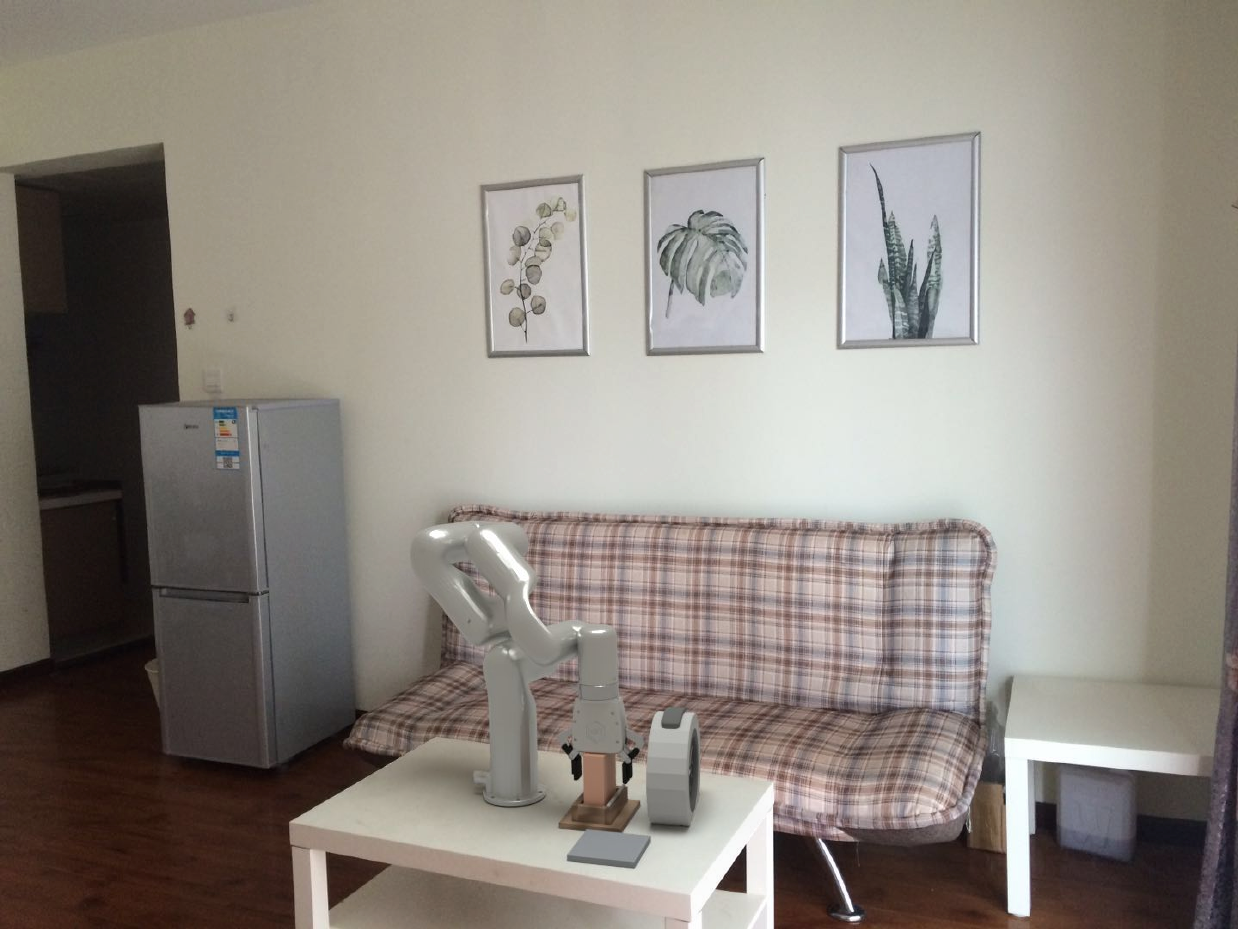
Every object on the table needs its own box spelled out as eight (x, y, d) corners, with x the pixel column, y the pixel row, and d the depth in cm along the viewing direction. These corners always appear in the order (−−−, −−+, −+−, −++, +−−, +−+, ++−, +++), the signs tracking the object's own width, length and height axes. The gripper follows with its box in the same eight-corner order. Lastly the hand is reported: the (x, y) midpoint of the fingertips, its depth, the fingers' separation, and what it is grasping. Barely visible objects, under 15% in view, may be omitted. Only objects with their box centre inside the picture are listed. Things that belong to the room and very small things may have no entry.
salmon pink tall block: (584, 818, 186) (582, 755, 185) (596, 802, 194) (595, 741, 193) (604, 820, 185) (603, 757, 184) (616, 804, 192) (615, 743, 192)
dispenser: (558, 828, 184) (558, 803, 184) (582, 800, 198) (581, 776, 197) (620, 834, 181) (620, 809, 181) (640, 805, 194) (640, 782, 194)
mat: (567, 860, 170) (567, 855, 170) (586, 834, 181) (586, 829, 181) (634, 868, 167) (634, 862, 167) (650, 841, 178) (650, 836, 178)
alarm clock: (687, 835, 180) (685, 727, 179) (646, 832, 182) (644, 725, 181) (701, 791, 201) (699, 695, 200) (664, 789, 202) (663, 693, 202)
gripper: (549, 694, 187) (552, 784, 187) (637, 698, 182) (641, 790, 183) (562, 684, 194) (565, 770, 195) (648, 687, 189) (651, 776, 190)
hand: (602, 780), depth 189 cm, fingers open, 9 cm apart
